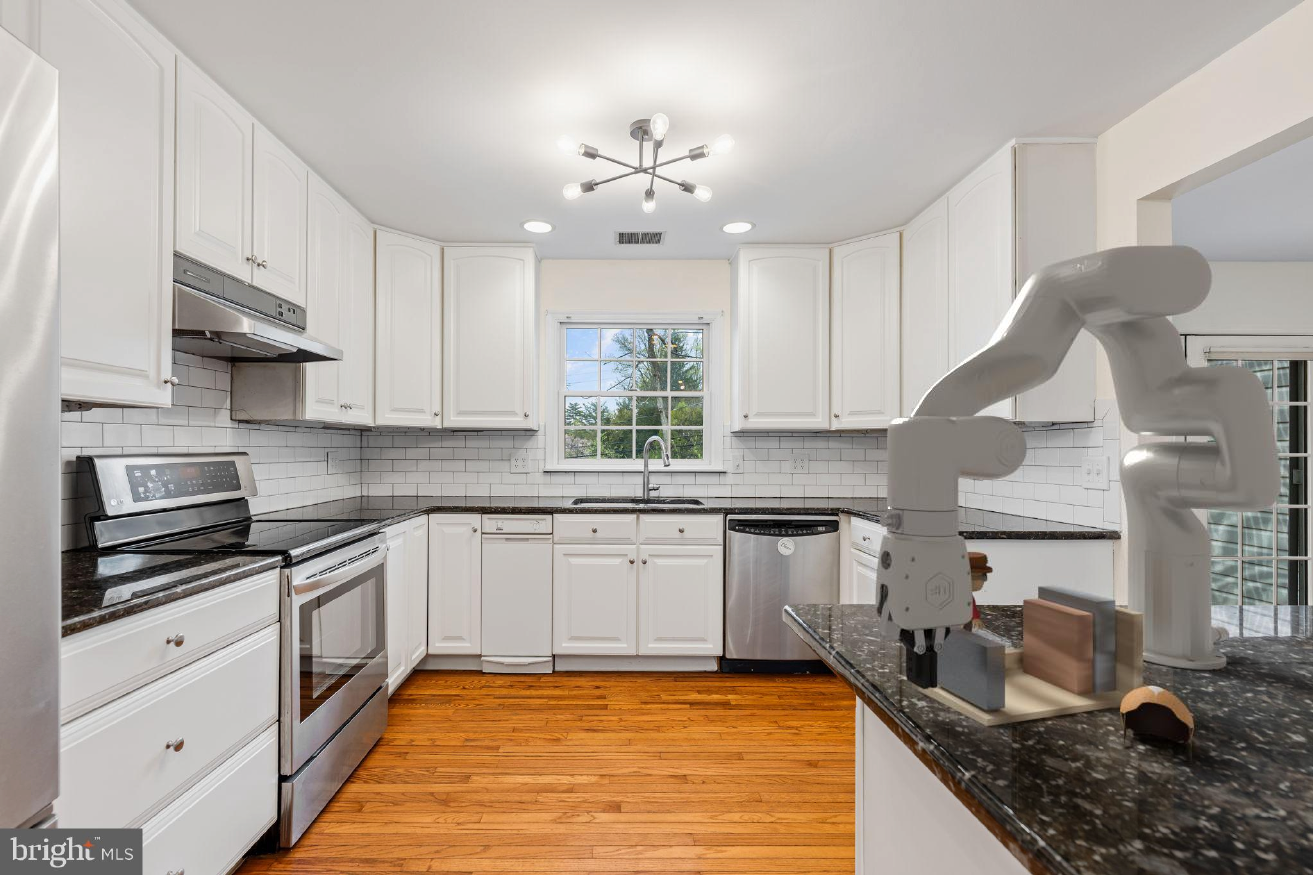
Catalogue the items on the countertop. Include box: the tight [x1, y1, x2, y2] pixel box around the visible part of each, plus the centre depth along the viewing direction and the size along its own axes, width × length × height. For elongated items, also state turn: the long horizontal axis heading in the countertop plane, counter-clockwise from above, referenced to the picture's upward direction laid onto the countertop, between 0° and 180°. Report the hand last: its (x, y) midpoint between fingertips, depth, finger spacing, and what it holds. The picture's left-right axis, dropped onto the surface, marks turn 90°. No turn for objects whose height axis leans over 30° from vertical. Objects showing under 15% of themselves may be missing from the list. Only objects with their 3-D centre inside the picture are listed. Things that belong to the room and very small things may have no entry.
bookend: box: [937, 629, 1006, 711], centre depth 72 cm, size 2×8×7 cm, turn 16°
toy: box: [962, 551, 994, 633], centre depth 90 cm, size 11×7×15 cm, turn 168°
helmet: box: [1119, 685, 1195, 764], centre depth 62 cm, size 6×7×8 cm
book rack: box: [911, 584, 1144, 727], centre depth 75 cm, size 23×12×12 cm, turn 106°
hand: (921, 683), depth 70 cm, fingers closed
